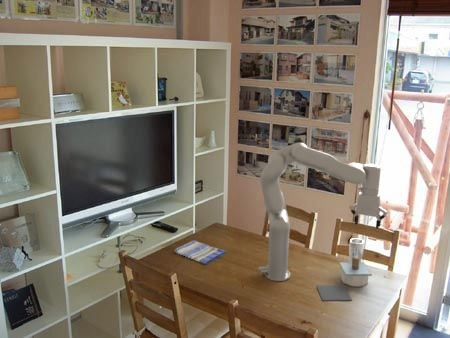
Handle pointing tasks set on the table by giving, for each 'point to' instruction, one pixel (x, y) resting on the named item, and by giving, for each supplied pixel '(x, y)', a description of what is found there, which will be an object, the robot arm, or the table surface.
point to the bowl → (354, 280)
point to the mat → (333, 293)
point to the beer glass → (356, 248)
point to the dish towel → (200, 252)
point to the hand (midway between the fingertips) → (366, 225)
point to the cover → (355, 268)
